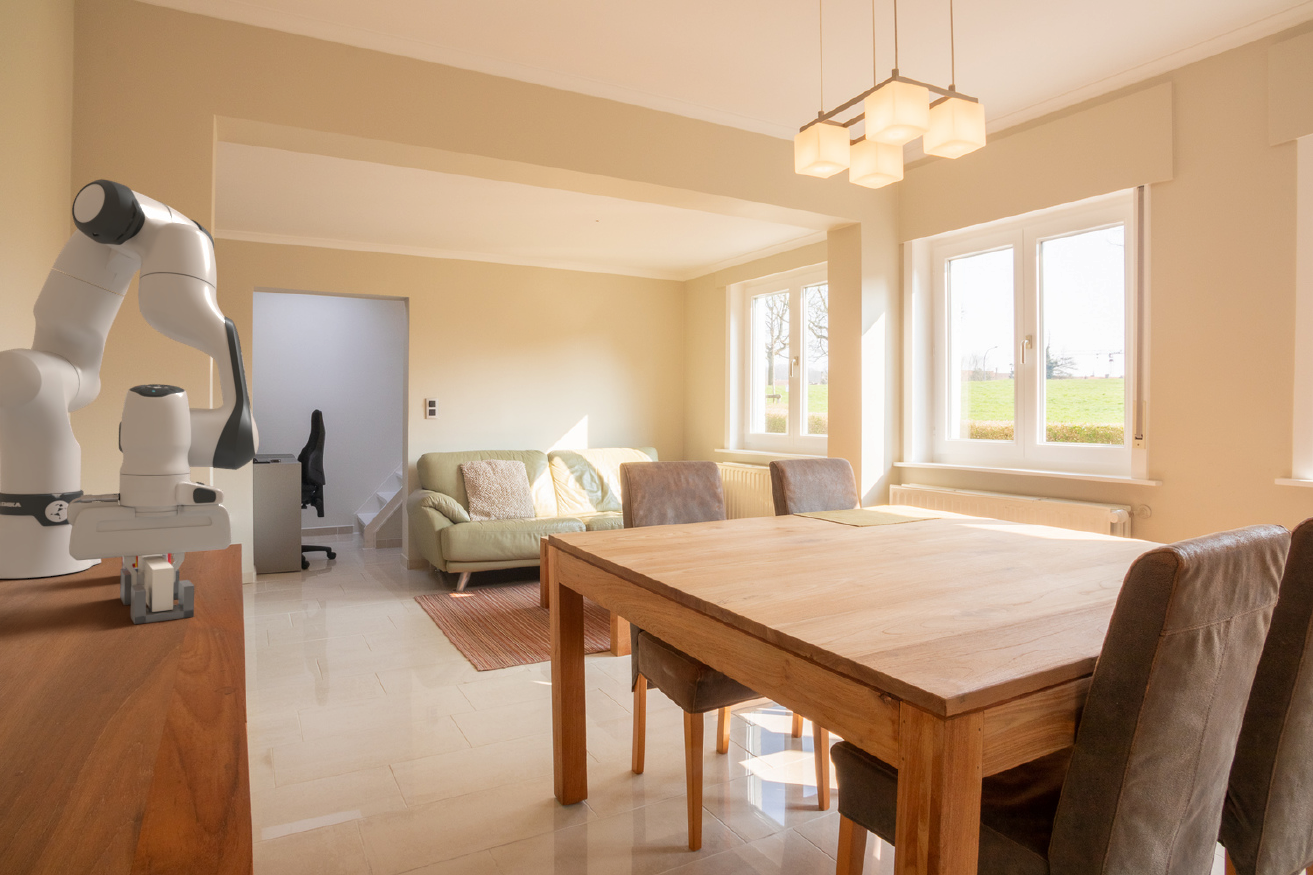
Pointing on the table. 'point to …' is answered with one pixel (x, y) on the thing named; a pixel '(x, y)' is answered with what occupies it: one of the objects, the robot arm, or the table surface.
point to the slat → (157, 581)
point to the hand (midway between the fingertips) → (153, 583)
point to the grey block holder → (145, 615)
